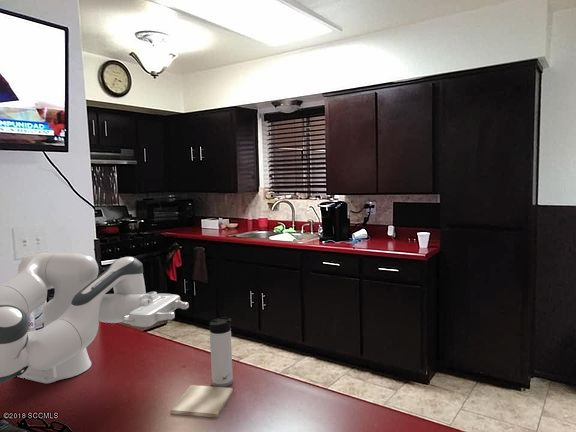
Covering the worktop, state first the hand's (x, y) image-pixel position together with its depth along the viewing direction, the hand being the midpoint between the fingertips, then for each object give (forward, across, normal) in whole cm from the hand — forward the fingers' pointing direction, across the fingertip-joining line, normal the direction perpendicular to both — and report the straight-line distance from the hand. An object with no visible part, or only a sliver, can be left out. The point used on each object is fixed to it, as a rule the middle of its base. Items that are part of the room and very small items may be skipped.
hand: (180, 310), depth 126 cm
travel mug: (+11, +2, +23) cm, 26 cm away
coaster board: (+10, -9, +23) cm, 26 cm away
